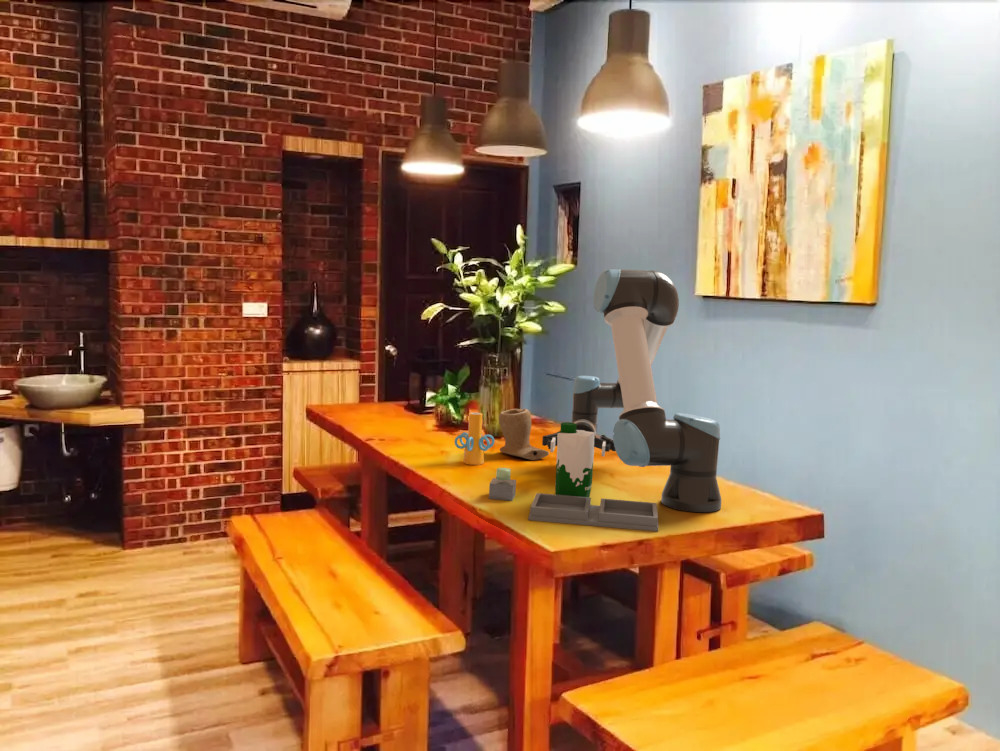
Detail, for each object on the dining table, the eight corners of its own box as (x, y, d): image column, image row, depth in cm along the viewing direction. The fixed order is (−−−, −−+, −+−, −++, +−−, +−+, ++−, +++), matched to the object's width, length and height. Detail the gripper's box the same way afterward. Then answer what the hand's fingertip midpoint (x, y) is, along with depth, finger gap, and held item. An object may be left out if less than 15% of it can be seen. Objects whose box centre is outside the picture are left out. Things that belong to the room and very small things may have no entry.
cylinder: (457, 467, 257) (459, 416, 255) (450, 459, 267) (452, 410, 265) (498, 466, 260) (500, 416, 258) (489, 458, 270) (491, 410, 268)
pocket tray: (656, 514, 216) (657, 502, 216) (658, 531, 202) (659, 518, 202) (535, 504, 221) (535, 492, 220) (528, 519, 206) (529, 507, 206)
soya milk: (560, 495, 230) (564, 420, 228) (593, 500, 227) (598, 423, 225) (550, 503, 222) (554, 425, 219) (585, 508, 219) (590, 429, 216)
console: (515, 494, 229) (516, 479, 228) (512, 500, 223) (513, 485, 222) (492, 493, 229) (493, 478, 229) (488, 498, 224) (489, 483, 223)
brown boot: (489, 453, 278) (491, 406, 276) (519, 450, 285) (521, 404, 283) (519, 463, 266) (522, 414, 264) (549, 459, 273) (552, 412, 271)
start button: (511, 477, 227) (511, 468, 227) (509, 480, 223) (509, 471, 223) (497, 476, 228) (497, 467, 227) (495, 479, 224) (495, 470, 224)
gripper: (624, 450, 253) (624, 466, 232) (538, 443, 256) (530, 459, 235) (626, 424, 252) (625, 438, 231) (539, 418, 255) (531, 431, 234)
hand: (577, 449), depth 233 cm, fingers open, 13 cm apart
